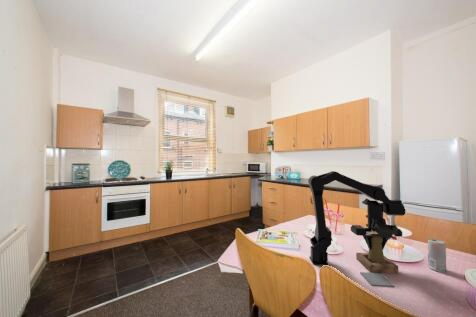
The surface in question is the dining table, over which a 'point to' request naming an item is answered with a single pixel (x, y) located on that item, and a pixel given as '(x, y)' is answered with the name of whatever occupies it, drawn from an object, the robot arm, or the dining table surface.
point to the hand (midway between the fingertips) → (375, 249)
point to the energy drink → (437, 255)
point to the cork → (376, 249)
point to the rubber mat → (376, 279)
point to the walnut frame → (377, 264)
